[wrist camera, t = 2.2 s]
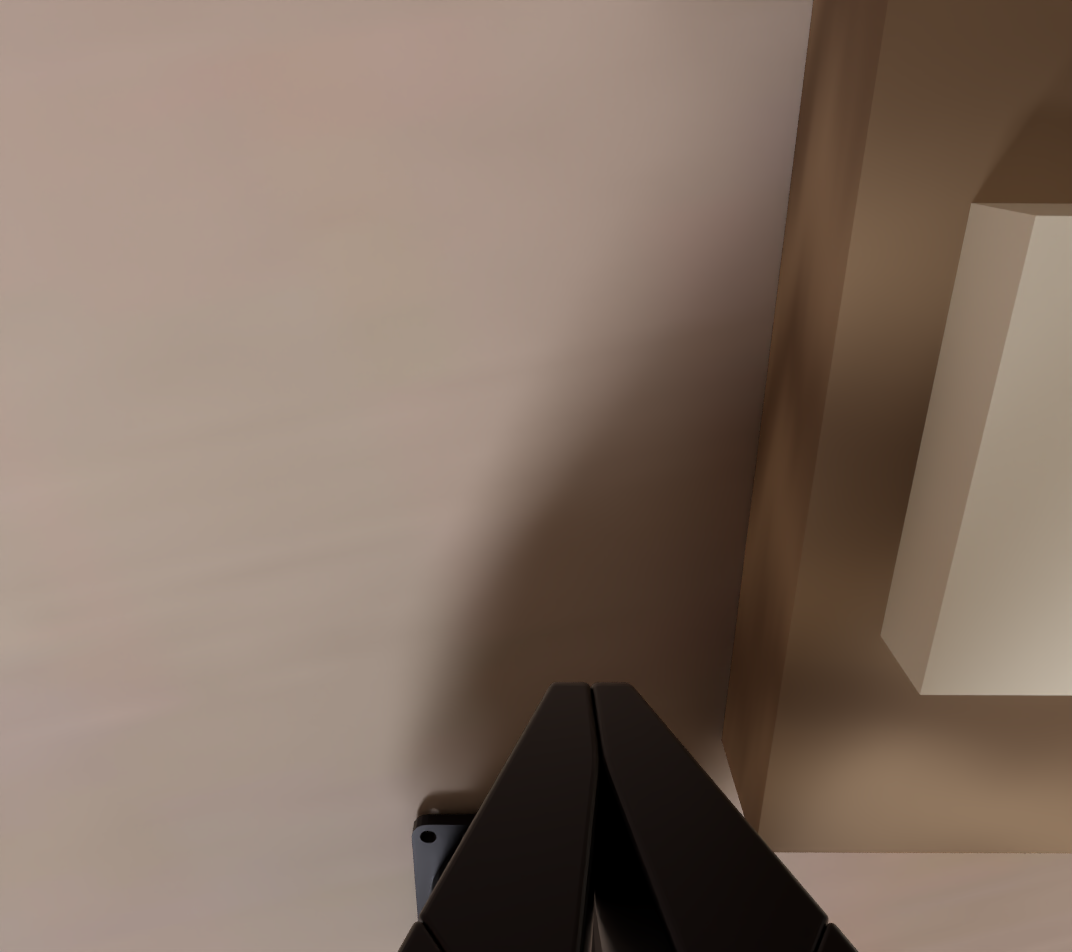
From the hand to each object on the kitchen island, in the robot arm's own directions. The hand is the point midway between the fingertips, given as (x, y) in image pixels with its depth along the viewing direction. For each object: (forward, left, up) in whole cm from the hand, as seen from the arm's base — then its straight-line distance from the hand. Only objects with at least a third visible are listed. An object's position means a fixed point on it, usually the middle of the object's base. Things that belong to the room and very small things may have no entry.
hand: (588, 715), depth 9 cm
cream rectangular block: (0, -10, -8) cm, 13 cm away
